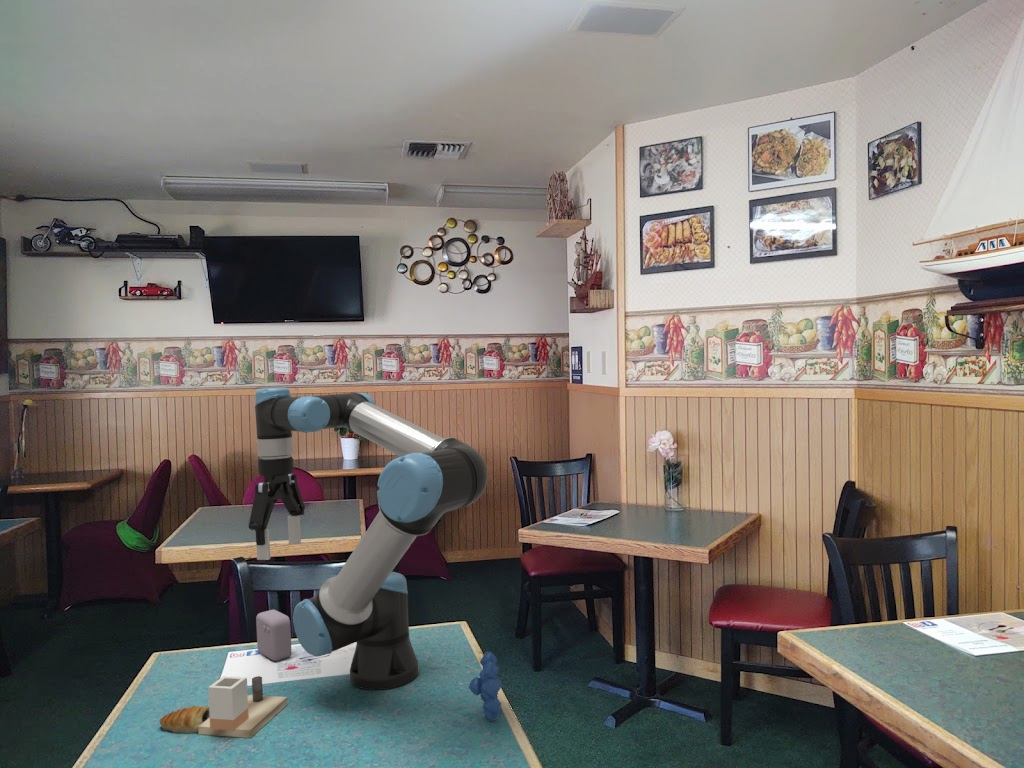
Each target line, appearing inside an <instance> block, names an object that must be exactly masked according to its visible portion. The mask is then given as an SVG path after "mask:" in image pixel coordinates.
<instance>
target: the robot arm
mask: <svg viewBox="0 0 1024 768" xmlns="http://www.w3.org/2000/svg"><path fill="white" fill-rule="evenodd" d="M254 397H255V404H254V412H255V425H256V426H255V427H256V428H255V429H256V439H257V442H256V446H257V456H258V457H259V459H258V460H257V468H258V470H257V471H258V475H259V476H260V477H263V482H256V483H255V485H254V488H255V489H254V498H253V503H252V507H251V511H250V518H249V522H248V528H249V529H250V530H251V531H255V544H256V560H258V561H269V560H271V546H270V545H271V544H270V542H271V541H270V529H269V528H268V524H269V521H270V519H271V515H272V512H273V509H274V507H275V504H276V503H278V501H279V500H281V502H282V503H283V505H284V507H285V508H286V510H287V512H288V514H289V515H288V516H287V530H288V531H287V533H288V534H287V535H288V545H301V543H302V538H301V537H302V536H301V535H302V534H301V516H304V515H305V510H306V507H305V503H304V500H303V496H302V494H301V491H300V487H299V484H298V478H297V474H296V473H294V469H295V468H294V465H295V464H294V458H293V457H292V455H293V454H294V448H293V446H294V445H293V432H299V433H300V432H302V433H305V434H307V433H315V432H319V431H321V430H328V429H337V428H338V429H339V428H345V429H347V430H349V431H351V432H353V433H355V434H357V435H359V436H361V437H363V438H365V439H366V440H368V441H369V442H372V443H374V444H376V445H378V446H379V447H381V448H383V449H384V450H386V451H388V452H390V453H392V454H394V455H396V456H398V457H396V458H393V459H392V460H391V461H389V462H388V463H387V464H386V465H385V466H384V468H383V469H382V471H381V473H380V474H379V476H378V477H379V478H378V480H377V487H379V489H378V490H377V491H376V496H377V501H378V509H379V511H378V513H377V514H376V516H375V517H374V518H373V521H372V522H371V524H370V525H369V527H368V528H367V530H366V531H365V532H364V534H363V536H362V537H361V539H360V540H359V541H358V544H357V545H356V546H355V548H354V549H353V551H352V553H351V554H350V555H349V557H348V558H347V560H346V562H345V563H344V565H343V566H342V567H341V568H340V570H339V572H338V574H337V575H333V576H331V577H329V578H327V579H326V580H325V581H324V582H323V583H322V584H321V586H320V587H319V589H318V590H317V592H316V593H315V595H314V596H312V597H311V598H305V599H303V600H302V601H300V602H298V603H297V604H296V606H295V607H294V609H293V613H292V614H293V615H292V623H293V627H294V632H295V636H296V638H297V640H298V642H299V644H300V646H301V647H302V649H303V650H304V651H305V652H306V653H307V654H308V655H312V656H313V657H321V656H325V655H330V654H332V653H333V652H336V651H338V650H339V649H343V648H345V647H347V646H350V645H352V644H355V643H356V644H355V649H354V653H353V656H352V661H351V664H350V667H349V680H350V683H351V684H352V685H354V686H355V687H357V688H360V689H365V690H387V689H392V688H397V687H401V686H403V685H405V684H408V683H411V681H413V680H415V679H416V678H417V676H418V675H419V661H418V658H417V655H416V652H415V650H414V648H413V644H412V642H411V639H410V630H409V629H410V627H409V625H410V623H409V598H408V597H409V591H408V585H407V584H408V583H407V579H406V577H405V576H404V575H403V574H401V572H395V571H393V570H394V569H395V568H396V566H397V565H398V564H399V562H400V560H401V559H402V558H403V556H405V553H407V551H408V550H409V548H410V547H411V545H412V544H413V543H414V541H415V540H416V538H417V537H420V536H426V535H427V534H429V533H430V532H431V531H432V529H433V528H434V527H435V526H436V525H437V523H438V521H439V520H440V519H441V517H442V516H443V515H444V514H445V513H447V512H451V511H453V510H458V509H461V508H465V507H468V506H470V505H472V504H474V503H475V502H476V501H478V500H479V499H480V498H481V497H482V495H483V494H484V492H485V490H486V488H487V485H488V481H489V470H488V467H487V463H486V461H485V459H484V457H483V456H482V454H481V453H480V452H479V451H477V450H476V449H475V448H474V447H472V446H471V445H469V444H467V443H465V442H463V441H461V440H459V439H456V438H455V437H452V436H451V437H446V438H443V437H442V436H439V435H437V434H436V433H433V432H431V431H429V430H427V429H425V428H423V427H421V426H419V425H416V424H415V423H413V422H411V421H408V420H406V419H405V418H402V417H401V416H398V415H396V414H395V413H392V412H390V411H388V410H387V409H383V408H381V407H380V406H378V405H376V403H375V401H374V400H373V398H372V396H371V395H370V394H368V393H367V392H366V393H365V392H347V393H335V394H319V395H303V396H291V391H290V389H289V388H288V387H267V388H264V387H263V388H259V389H257V390H256V391H255V396H254Z"/></svg>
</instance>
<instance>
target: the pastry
mask: <svg viewBox="0 0 1024 768" xmlns="http://www.w3.org/2000/svg"><path fill="white" fill-rule="evenodd" d="M208 718H210V712H209V705H205V706H199V705H196V706H195V705H190V706H188V707H183V708H180V709H177V710H175V711H171V712H168V714H166V715H164V716H162V717H161V718H160V719H159V724H160V726H161V728H162V729H163V730H165V731H169V732H172V733H175V734H177V733H178V734H179V733H180V734H181V733H182V734H196V733H198V726H199V725H201V724H202V723H203V722H204V721H206V720H207V719H208Z"/></svg>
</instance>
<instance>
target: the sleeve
mask: <svg viewBox="0 0 1024 768" xmlns="http://www.w3.org/2000/svg"><path fill="white" fill-rule="evenodd" d="M207 691H208V707H209V712H210V729H220V730H235V729H236V728H237V727H239V726H240V725H241V724H242V723H243V722H244V721H246V720H247V719H248V718H249V716H248V695H249V694H248V678H247V677H245V676H244V677H242V676H227V675H224V676H222V677H220V678H219V679H218V680H216V681H215V682H214V683H212V684H211V685H209V686H208V689H207Z"/></svg>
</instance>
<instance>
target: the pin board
mask: <svg viewBox="0 0 1024 768" xmlns="http://www.w3.org/2000/svg"><path fill="white" fill-rule="evenodd" d="M251 688H252V689H251V690H252V691H251V692H252V693H251V694H247V695H248V716H249V718H248V719H247V720H246V721H244V722H243V723H242V724H241V725H240V726H239V727H237V728H236V729H235V730H220V729H210V718H208V719H207V720H206V721H204V722H203V723H202V724H201V725H199V726H198V732H197V733H198V735H203V736H204V735H207V736H218V737H219V736H220V737H229V738H230V737H233V738H245V739H247V738H248V739H251V738H253V736H254V735H256V734H257V733H258V732H259V730H261V729H262V728H263V727H265V725H266V724H267V723H269V721H271V720H272V719H273V718H274V717H276V716H277V715H278V714H279V712H281V711H282V710H283V709H284V708H285V707H286V706H287V705H288V697H287V696H277V695H276V696H275V695H264V693H263V692H264V691H263V688H264V687H263V677H262V676H261V675H259V676H254V677H252V678H251Z"/></svg>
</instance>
